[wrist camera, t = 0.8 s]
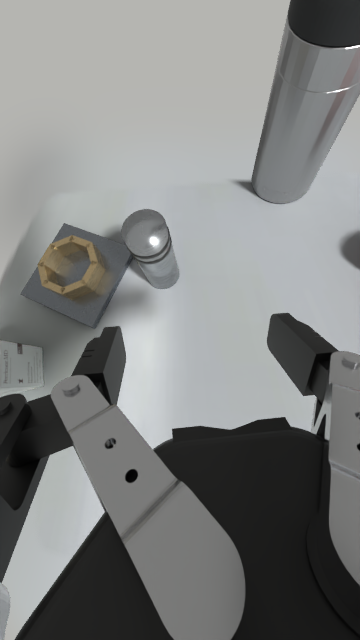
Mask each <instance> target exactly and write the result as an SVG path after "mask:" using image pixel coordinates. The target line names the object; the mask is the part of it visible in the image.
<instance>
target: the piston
mask: <svg viewBox="0 0 360 640" xmlns="http://www.w3.org/2000/svg"><path fill="white" fill-rule="evenodd" d="M121 235H122V238H123V240H124V242H125V244H126V247H127V248H128V250H129V252H130V253H131V255H132V256H133V258H134V259H135V260H136V261H137V263H138V264H139V266H140V268H141V269H142V271H143V272H144V274H145V276H146V277H147V279H148V280H149V282H150V284H151V285H152V286H154V287H155V288H158V289H167V288H170V287H171V286H173V285H174V284H175V283H176V282H177V280H178V278H179V269H178V265H177V261H176V258H175V254H174V251H173V247H172V241H171V237H170V233H169V229H168V227H167V225H166V222H165V219H164V218H163V216H162V215H161V214H160V213H158V212H157V211H154V210H150V209H144V210H139V211H136V212H134V213H133V214H131V215H130V216H129V217H128V218H127V219H126V220H125V221H124V223H123V226H122V229H121Z"/></svg>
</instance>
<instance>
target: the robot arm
mask: <svg viewBox="0 0 360 640" xmlns="http://www.w3.org/2000/svg"><path fill="white" fill-rule="evenodd" d="M359 95H360V0H291V1H290V6H289V10H288V15H287V19H286V24H285V29H284V34H283V38H282V42H281V47H280V51H279V56H278V61H277V66H276V71H275V75H274V79H273V85H272V89H271V93H270V97H269V102H268V107H267V112H266V116H265V120H264V125H263V129H262V134H261V138H260V143H259V148H258V152H257V156H256V161H255V166H254V170H253V175H252V186H253V189H254V190H255V192H256V193H257V194H258V195H259V196H260V197H261V198H263V199H265V200H267V201H270V202H274V203H288V202H292V201H295V200H297V199H299V198H301V197H302V196H303V195H304V194H305V193H306V192H307V191H308V189H309V188H310V186H311V184H312V182H313V180H314V178H315V177H316V175H317V173H318V171H319V169H320V167H321V166H322V164H323V162H324V160H325V158H326V156H327V154H328V152H329V151H330V149H331V147H332V145H333V143H334V141H335V140H336V138H337V136H338V134H339V132H340V130H341V128H342V126H343V124H344V123H345V121H346V119H347V117H348V115H349V113H350V111H351V109H352V108H353V106H354V104H355V102H356V100H357V98H358V96H359ZM267 345H268V348H269V350H270V352H271V353H272V354H273V356H274V357H275V358H276V360H277V361H278V362H279V364H280V365H281V366H282V368H283V369H284V370H285V372H286V373H287V375H288V376H289V377H290V379H291V380H292V381H293V383H294V384H295V385H296V387H297V388H298V389H299V391H300V392H301V394H302V395H303V396H308V395H315V396H316V397H317V398H316V401H315V404H314V412H313V419H312V427H311V432H309V431H306V430H303V429H299V428H295V427H290V425H289V423H288V422H287V420H286V418H285V417H281V418H272V419H262V420H256V421H254V422H251V423H249V424H246V425H243V426H241V427H238V428H236V429H232V430H227V429H220V428H212V427H204V426H195V427H186V428H176V429H172V434H173V438H172V439H170V440H167V441H165V442H163V443H162V444H160V445H158V446H157V447H156V448H154V449H153V450H152V448H151V447H150V446H149V445H148V443H147V442H146V441H145V440H144V438H143V437H142V436H141V435H140V434H139V432H138V431H137V430H136V429H135V427H134V426H133V425H132V424H131V422H130V421H129V420H128V419H127V418H126V416H125V415H124V414H123V413H122V411H121V410H120V409H119V408H118V406H117V401H118V396H119V391H120V387H121V382H122V377H123V373H124V368H125V363H126V352H125V347H124V342H123V337H122V332H121V328H120V326H116V327H105V328H104V329H103V332H102V334H101V336H100V337H97V338H94V339H93V340H91V341H90V342H89V343H88V344H87V346H86V348H85V350H84V352H83V354H82V356H81V358H80V360H79V362H78V364H77V365H76V367H75V369H74V371H73V373H72V375H71V377H68V378H66V379H64V380H62V381H61V382H59V383H58V384H57V385H56V386H55V387H54V388H53V390H52V392H51V394H50V395H47V396H44V397H41V398H38V399H35V400H32V401H29V402H27V400H26V398H25V397H24V396H23V395H21V394H10V395H6V396H3V397H1V398H0V640H4V636H5V629H6V624H7V620H8V616H9V610H10V595H9V592H8V590H7V588H6V587H5V586H4V585H3V584H2V581H3V578H4V575H5V573H6V570H7V567H8V565H9V562H10V559H11V557H12V554H13V551H14V548H15V546H16V543H17V541H18V538H19V535H20V533H21V530H22V527H23V525H24V522H25V519H26V517H27V514H28V511H29V509H30V505H31V503H32V501H33V498H34V495H35V493H36V490H37V487H38V485H39V482H40V479H41V477H42V474H43V471H44V469H45V466H46V463H47V461H48V458H49V455H51V454H53V453H56V452H58V451H61V450H63V449H66V448H68V447H71V446H74V449H75V451H76V453H77V455H78V457H79V459H80V461H81V463H82V465H83V467H84V469H85V471H86V473H87V475H88V477H89V480H90V482H91V484H92V486H93V488H94V490H95V492H96V494H97V496H98V499H99V501H100V503H101V505H102V507H103V509H104V511H105V513H104V514H103V516H102V517H101V518H100V520H99V521H98V523H97V524H96V525H95V527H94V528H93V530H92V531H91V532H90V534H89V535H88V536H87V538H86V539H85V541H84V542H83V543H82V545H81V546H80V548H79V549H78V550H77V552H76V553H75V555H74V556H73V557H72V559H71V560H70V562H69V563H68V565H67V566H66V567H65V569H64V570H63V571H62V573H61V574H60V576H59V577H58V578H57V580H56V581H55V583H54V584H53V585H52V587H51V588H50V590H49V591H48V592H47V594H46V595H45V596H44V598H43V599H42V601H41V602H40V604H39V605H38V606H37V608H36V609H35V610H34V612H33V613H32V615H31V616H30V617H29V619H28V621H26V623H25V624H24V626H23V627H22V629H21V630H20V632H19V633H18V635H17V637H16V639H15V640H360V355H358V354H355V353H351V352H346V351H338V350H337V349H336V348H335V347H333V346H332V345H331V344H330V343H329V342H327V341H326V340H325V339H324V338H323V337H321V336H320V335H319V334H318V333H317V332H315V331H314V330H313V329H312V328H311V327H309V326H308V325H306V324H304V323H302V322H300V321H297V320H296V319H295V318H294V317H293V316H291V315H290V314H289V313H279V314H273V315H272V316H271V319H270V325H269V331H268V337H267Z"/></svg>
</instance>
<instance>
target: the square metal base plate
mask: <svg viewBox="0 0 360 640" xmlns="http://www.w3.org/2000/svg"><path fill="white" fill-rule="evenodd" d="M132 258H133V256H132V255H131V253H130V252H129V250H128V248H127V247H126V245H124V244H121V243H118V242H116V241H113V240H110V239H107V238H104V237H102V236H99V235H96V234H93V233H90V232H87V231H85V230H82V229H79V228H76V227H73V226H70V225H68V224H65V223H64V224H63V226H62V228H61V229H60V231H59V232H58V234H57V236H56V237H55V239H54V241H53V242H52V244H50V245H49V247H48V248H47V250H46V252H45V253H44V255H43V257H42V258H41V260H40V261H39V263H38V267H37V268H36V270H35V271H34V273H33V275H32V276H31V278H30V280H29V281H28V283H27V284H26V286H25V288H24V289H23V291H22V293H21V295H23V296H25V297H27V298H30V299H32V300H34V301H36V302H38V303H40V304H42V305H45V306H47V307H49V308H51V309H53V310H55V311H58V312H60V313H62V314H64V315H66V316H68V317H70V318H73V319H75V320H77V321H79V322H81V323H83V324H85V325H88V326H90V327H92V328H94V329H95V328H96V326H97V324H98V322H99V320H100V318H101V316H102V315H103V313H104V311H105V309H106V307H107V305H108V303H109V301H110V299H111V298H112V296H113V294H114V292H115V290H116V288H117V286H118V284H119V282H120V281H121V279H122V277H123V275H124V273H125V271H126V269H127V267H128V265H129V264H130V262H131V260H132Z"/></svg>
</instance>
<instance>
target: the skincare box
mask: <svg viewBox="0 0 360 640" xmlns="http://www.w3.org/2000/svg"><path fill="white" fill-rule="evenodd" d="M43 386H44V379H43V350H42V348H41V347H36V346H30V345H25V344H19V343H14V342H8V341H2V340H0V396H6V395H10V394H16V393H20V392H24V391H28V390H31V389H35V388H39V387H43Z"/></svg>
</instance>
